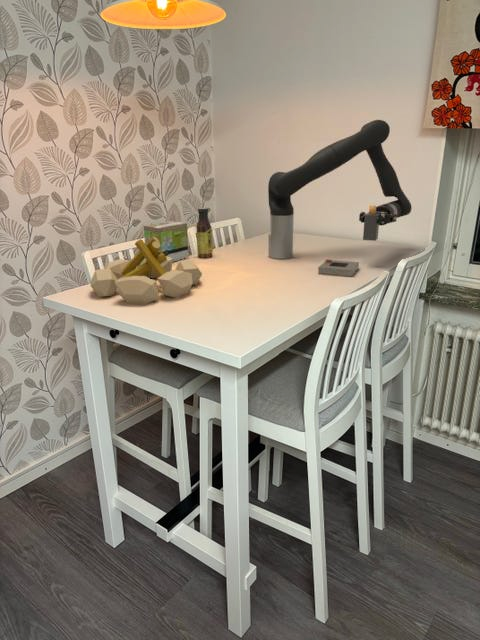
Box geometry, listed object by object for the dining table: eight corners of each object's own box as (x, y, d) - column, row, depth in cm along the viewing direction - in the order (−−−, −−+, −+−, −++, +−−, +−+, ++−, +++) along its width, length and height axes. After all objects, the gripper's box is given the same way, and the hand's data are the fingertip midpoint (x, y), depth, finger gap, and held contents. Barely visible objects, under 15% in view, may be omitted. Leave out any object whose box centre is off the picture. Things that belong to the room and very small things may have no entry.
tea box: (163, 265, 191) (160, 227, 186) (145, 262, 197) (142, 225, 192) (189, 258, 202) (187, 222, 197) (172, 255, 208) (169, 220, 203)
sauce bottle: (212, 258, 200) (210, 209, 193) (196, 258, 201) (194, 209, 194) (213, 254, 207) (211, 206, 200) (198, 255, 207) (196, 207, 200)
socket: (318, 274, 175) (318, 265, 174) (326, 266, 185) (326, 258, 184) (351, 277, 170) (352, 268, 169) (358, 268, 181) (358, 260, 180)
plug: (362, 239, 179) (365, 206, 175) (365, 237, 183) (367, 204, 179) (375, 240, 177) (378, 207, 173) (377, 238, 181) (380, 205, 177)
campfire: (219, 283, 168) (218, 233, 162) (153, 312, 141) (148, 254, 135) (143, 270, 186) (139, 225, 180) (72, 294, 159) (64, 242, 153)
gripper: (367, 202, 191) (351, 208, 178) (404, 205, 184) (390, 211, 170) (366, 222, 194) (349, 229, 181) (402, 225, 186) (388, 232, 173)
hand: (369, 220), depth 176 cm, fingers closed on plug, 5 cm apart
